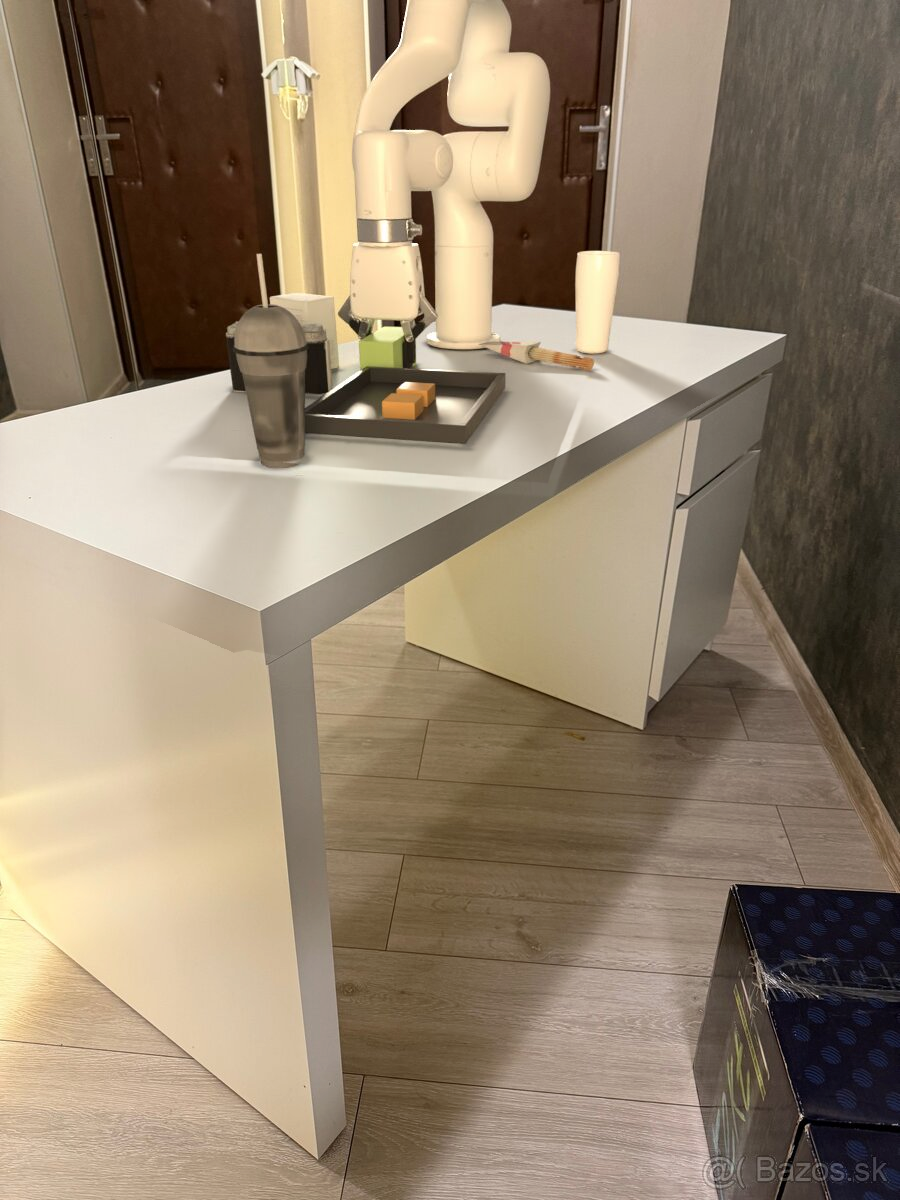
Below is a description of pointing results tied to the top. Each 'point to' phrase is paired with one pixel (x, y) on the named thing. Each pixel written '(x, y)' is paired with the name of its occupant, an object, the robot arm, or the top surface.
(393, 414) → the block
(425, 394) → the block
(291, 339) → the beverage cup
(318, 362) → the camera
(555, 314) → the top surface
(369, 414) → the pan
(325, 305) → the small box
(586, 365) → the paintbrush
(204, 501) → the top surface
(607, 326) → the drinking glass
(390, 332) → the sponge
